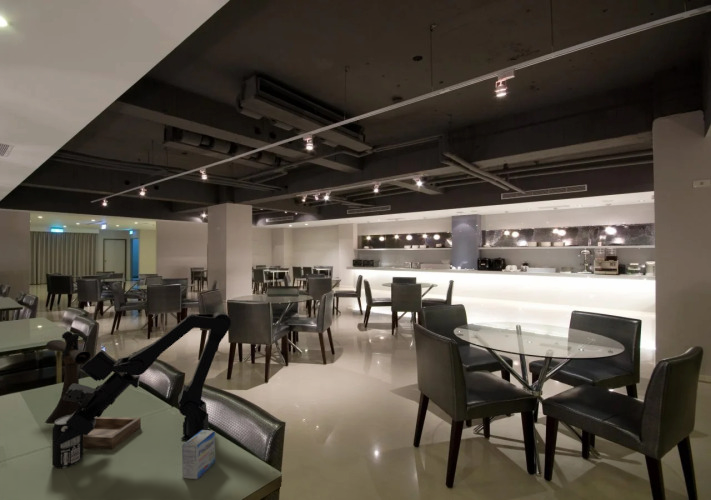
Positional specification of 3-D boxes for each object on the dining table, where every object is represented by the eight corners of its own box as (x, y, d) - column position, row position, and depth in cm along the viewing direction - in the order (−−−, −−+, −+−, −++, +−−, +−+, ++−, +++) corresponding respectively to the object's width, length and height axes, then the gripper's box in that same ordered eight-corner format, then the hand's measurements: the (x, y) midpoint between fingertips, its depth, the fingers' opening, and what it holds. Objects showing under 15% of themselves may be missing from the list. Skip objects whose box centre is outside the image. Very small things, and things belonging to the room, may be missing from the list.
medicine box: (197, 480, 88) (197, 446, 88) (181, 478, 89) (181, 444, 89) (215, 462, 96) (215, 430, 96) (201, 460, 97) (201, 429, 97)
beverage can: (64, 456, 99) (64, 413, 99) (88, 455, 100) (88, 412, 100) (45, 470, 93) (46, 425, 93) (72, 469, 93) (72, 423, 93)
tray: (140, 428, 115) (140, 417, 115) (111, 449, 102) (111, 437, 102) (93, 427, 116) (93, 416, 116) (59, 447, 104) (59, 435, 104)
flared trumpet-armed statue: (96, 424, 118) (96, 335, 119) (60, 436, 110) (61, 340, 111) (65, 401, 136) (66, 324, 137) (33, 410, 129) (33, 329, 129)
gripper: (94, 364, 107) (47, 407, 102) (76, 384, 90) (19, 437, 85) (124, 385, 110) (80, 428, 105) (113, 409, 93) (60, 461, 88)
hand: (61, 437), depth 96 cm, fingers closed on beverage can, 6 cm apart
